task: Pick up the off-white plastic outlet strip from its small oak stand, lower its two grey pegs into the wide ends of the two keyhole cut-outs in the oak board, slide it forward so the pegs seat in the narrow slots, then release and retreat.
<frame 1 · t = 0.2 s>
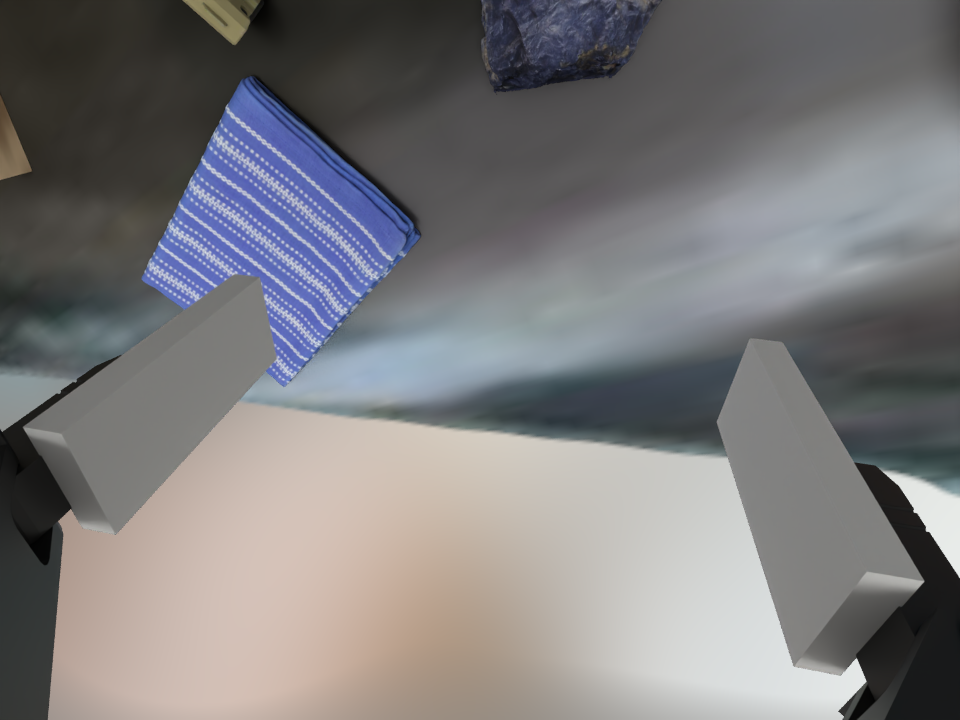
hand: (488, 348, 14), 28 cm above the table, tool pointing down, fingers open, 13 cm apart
dish towel: (279, 249, 47), on the table
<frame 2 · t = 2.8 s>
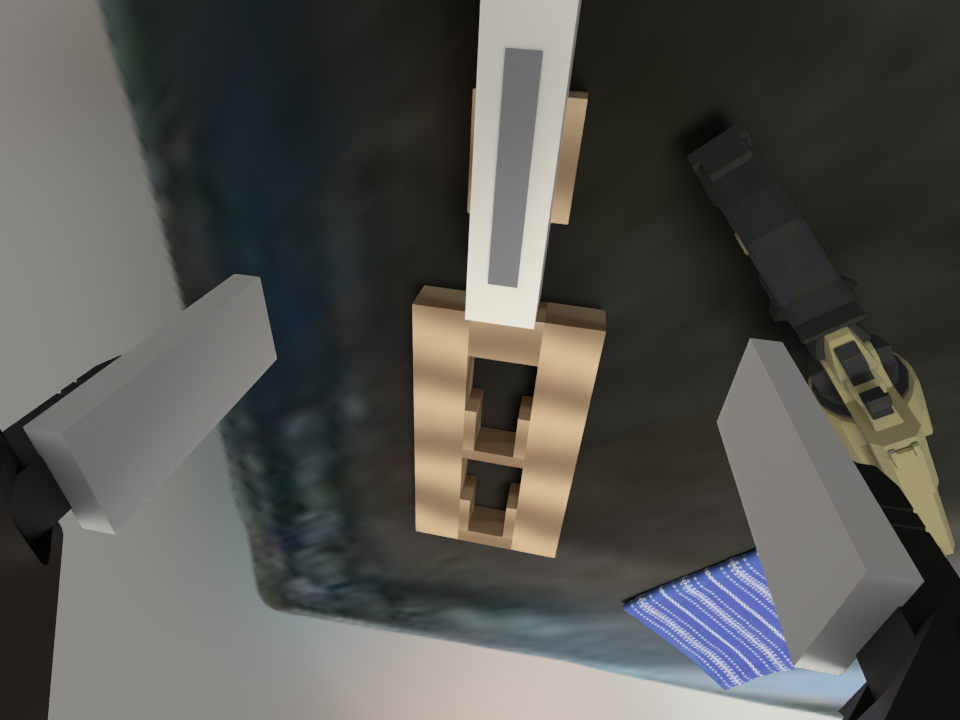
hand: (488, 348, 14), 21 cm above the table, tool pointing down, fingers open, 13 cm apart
dish towel: (775, 600, 50), on the table
board: (499, 425, 44), on the table
handgun: (820, 342, 35), on the table
strip: (527, 150, 31), resting on stand
stand: (528, 149, 31), on the table
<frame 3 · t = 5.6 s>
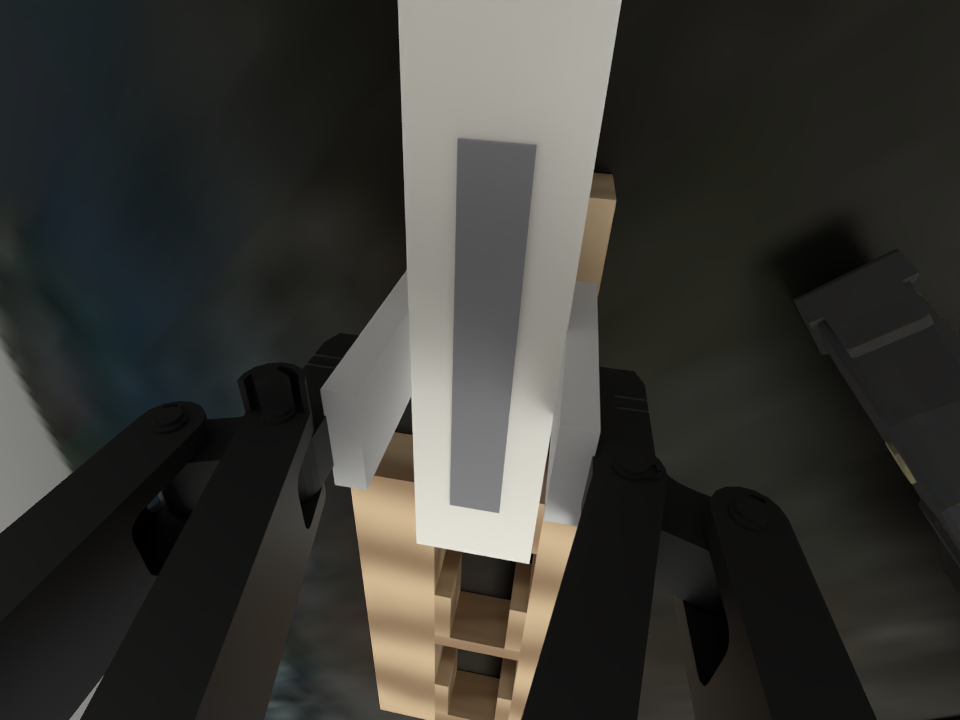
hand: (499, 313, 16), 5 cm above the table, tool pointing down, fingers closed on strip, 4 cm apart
board: (485, 590, 32), on the table
strip: (515, 261, 19), resting on stand, touching gripper
stand: (516, 256, 20), on the table
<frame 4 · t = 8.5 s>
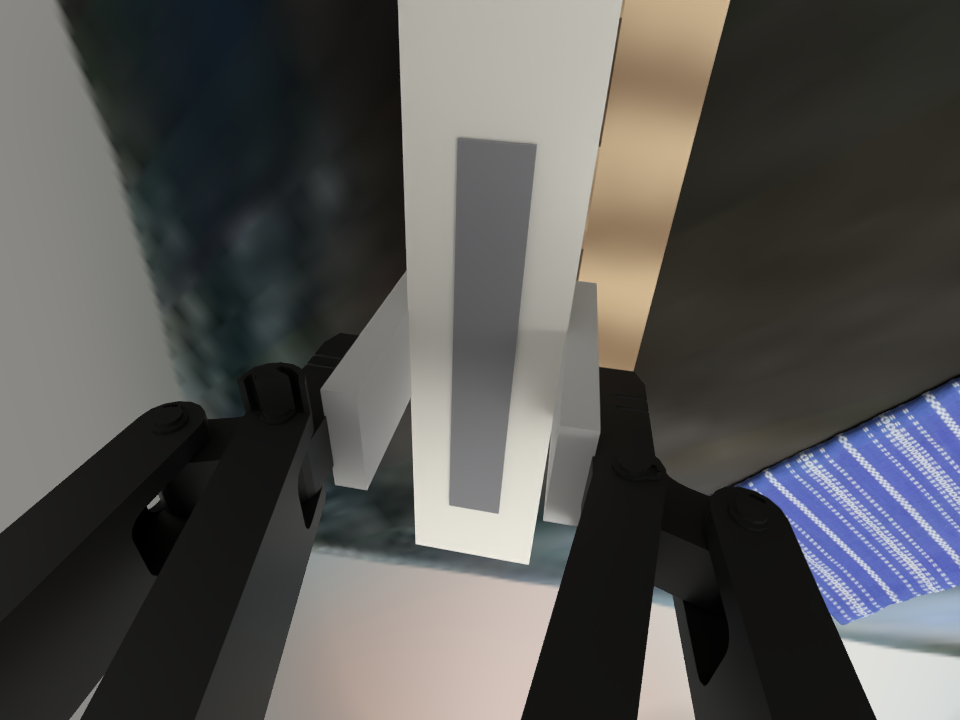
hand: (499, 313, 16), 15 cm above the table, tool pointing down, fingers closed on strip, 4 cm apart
dish towel: (932, 485, 35), on the table
board: (543, 198, 29), on the table
strip: (515, 261, 19), point 11 cm above the table, touching gripper
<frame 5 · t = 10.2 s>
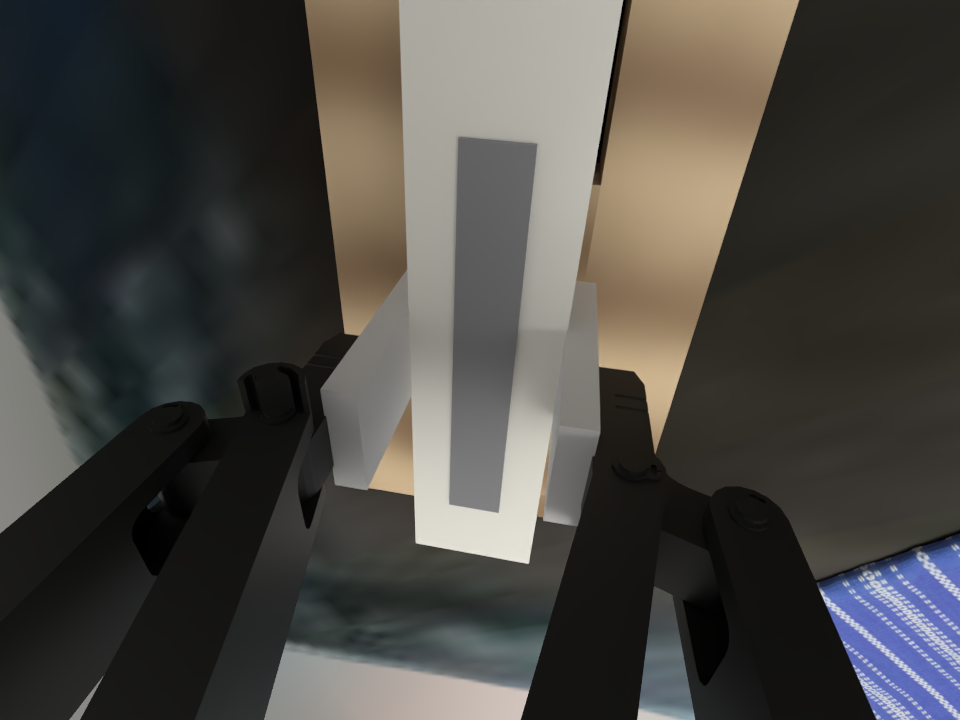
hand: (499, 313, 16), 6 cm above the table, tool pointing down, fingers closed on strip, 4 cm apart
board: (520, 248, 21), on the table
strip: (515, 260, 19), point 2 cm above the table, touching gripper
when the fingers open (5 cm above the table, at t = 11.4 s): strip stays where it is, resting on board.
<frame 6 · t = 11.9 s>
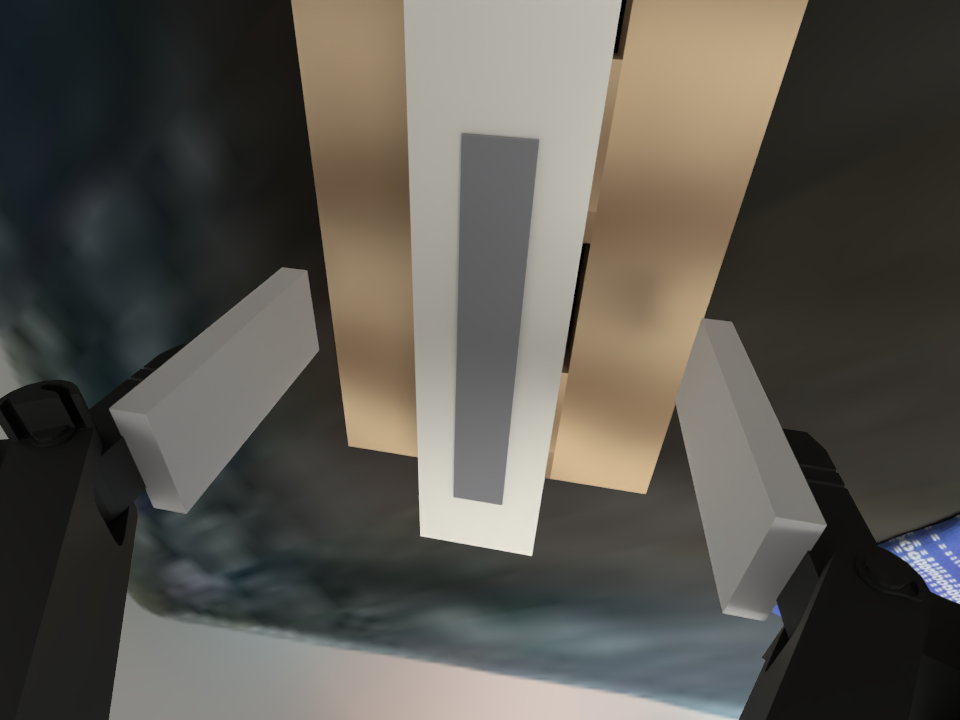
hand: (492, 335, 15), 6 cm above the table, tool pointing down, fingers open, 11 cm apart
board: (525, 164, 18), on the table
strip: (517, 257, 20), resting on board
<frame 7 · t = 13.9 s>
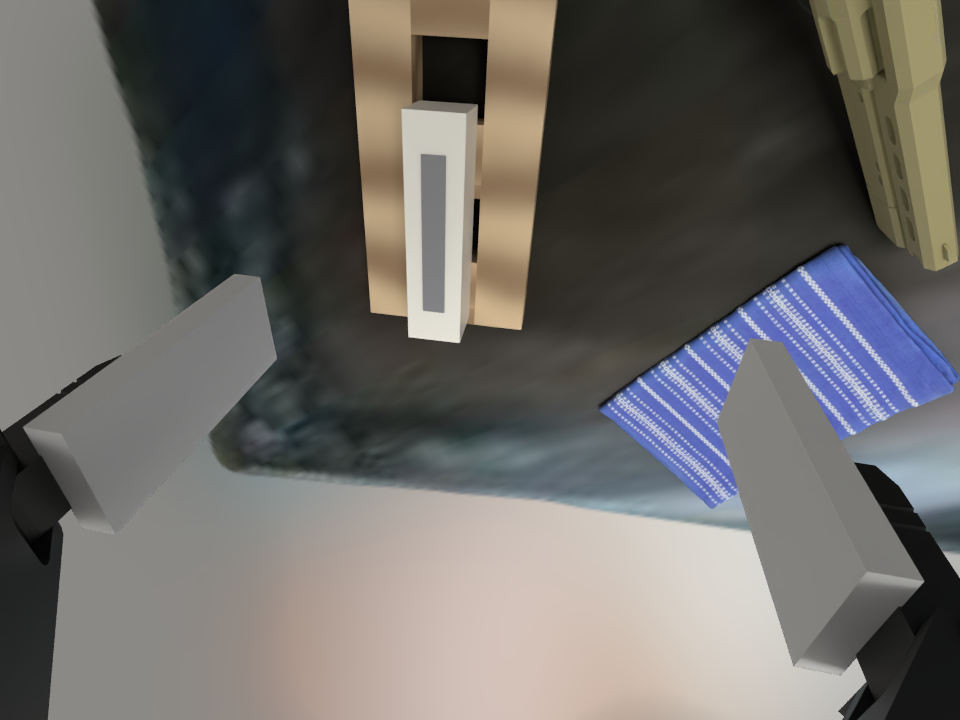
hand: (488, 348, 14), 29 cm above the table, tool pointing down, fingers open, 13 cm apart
dish towel: (760, 386, 47), on the table
board: (455, 166, 40), on the table
handgun: (809, 31, 33), on the table
strip: (453, 209, 41), resting on board
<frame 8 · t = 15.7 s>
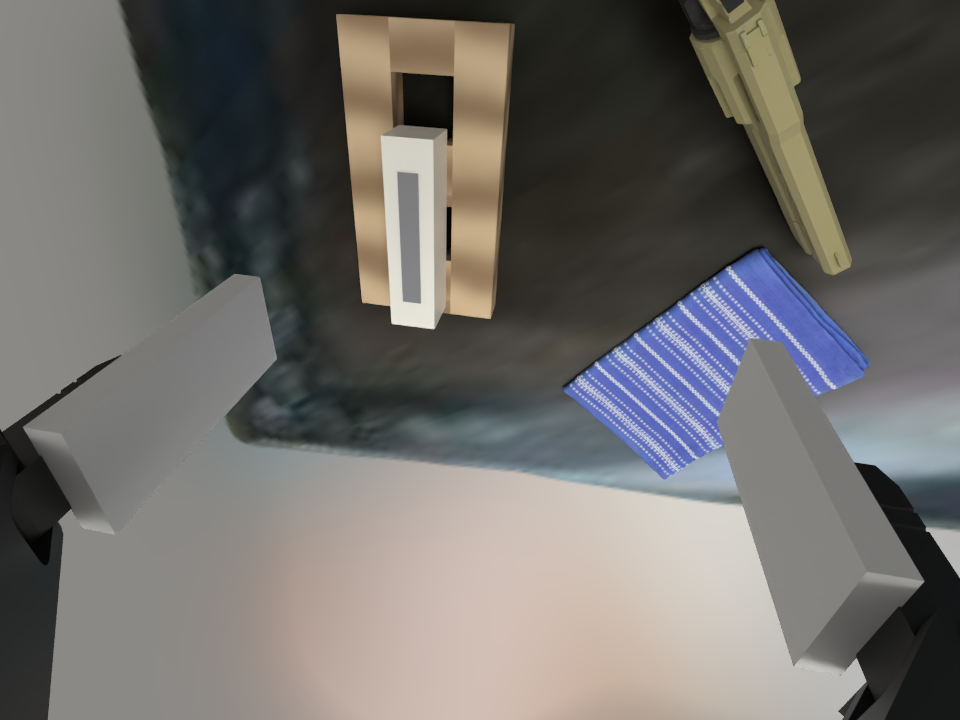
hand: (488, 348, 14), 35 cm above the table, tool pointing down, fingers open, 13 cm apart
dish towel: (703, 370, 54), on the table
board: (432, 177, 47), on the table
handgun: (726, 73, 39), on the table
strip: (431, 215, 48), resting on board
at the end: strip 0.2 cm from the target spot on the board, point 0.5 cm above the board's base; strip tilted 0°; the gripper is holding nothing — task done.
